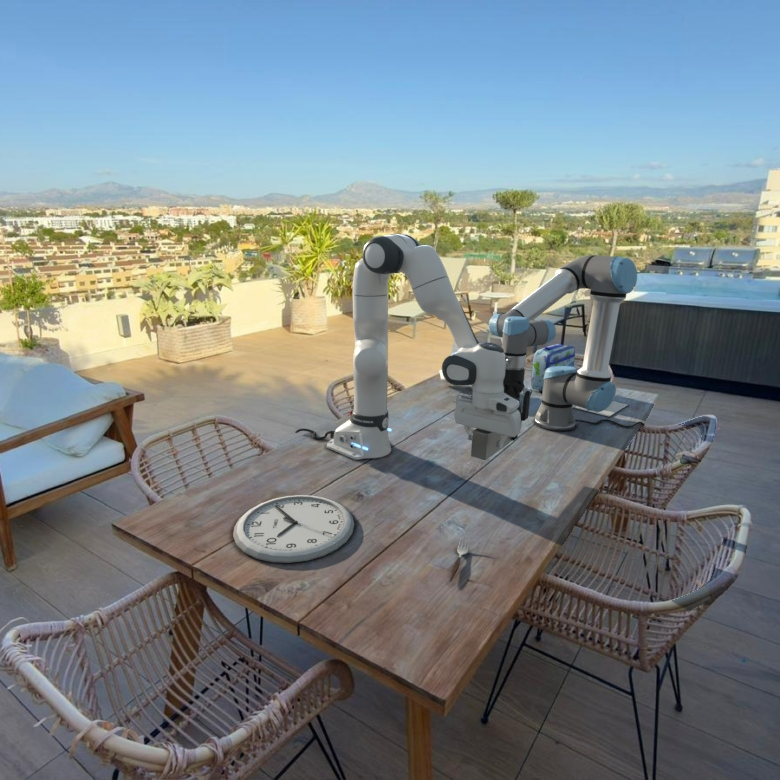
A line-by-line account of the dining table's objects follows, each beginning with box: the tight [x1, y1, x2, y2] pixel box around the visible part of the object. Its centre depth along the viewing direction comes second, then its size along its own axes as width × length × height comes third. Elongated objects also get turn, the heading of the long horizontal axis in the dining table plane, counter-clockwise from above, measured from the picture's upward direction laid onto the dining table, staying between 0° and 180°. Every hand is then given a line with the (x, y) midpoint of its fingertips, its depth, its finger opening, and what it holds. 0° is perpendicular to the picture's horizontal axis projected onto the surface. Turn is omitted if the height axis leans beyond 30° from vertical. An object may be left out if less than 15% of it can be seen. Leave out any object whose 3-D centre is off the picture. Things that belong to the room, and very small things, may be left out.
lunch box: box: [530, 343, 576, 392], centre depth 248 cm, size 26×11×21 cm, turn 134°
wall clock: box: [232, 494, 355, 564], centre depth 132 cm, size 30×2×30 cm
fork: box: [449, 535, 471, 582], centre depth 119 cm, size 3×16×2 cm, turn 160°
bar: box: [470, 428, 519, 461], centre depth 161 cm, size 23×5×8 cm, turn 143°
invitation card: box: [573, 400, 629, 418], centre depth 226 cm, size 21×1×15 cm
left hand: (485, 443), depth 155 cm, fingers open, 8 cm apart
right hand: (506, 436), depth 169 cm, fingers closed on bar, 5 cm apart
